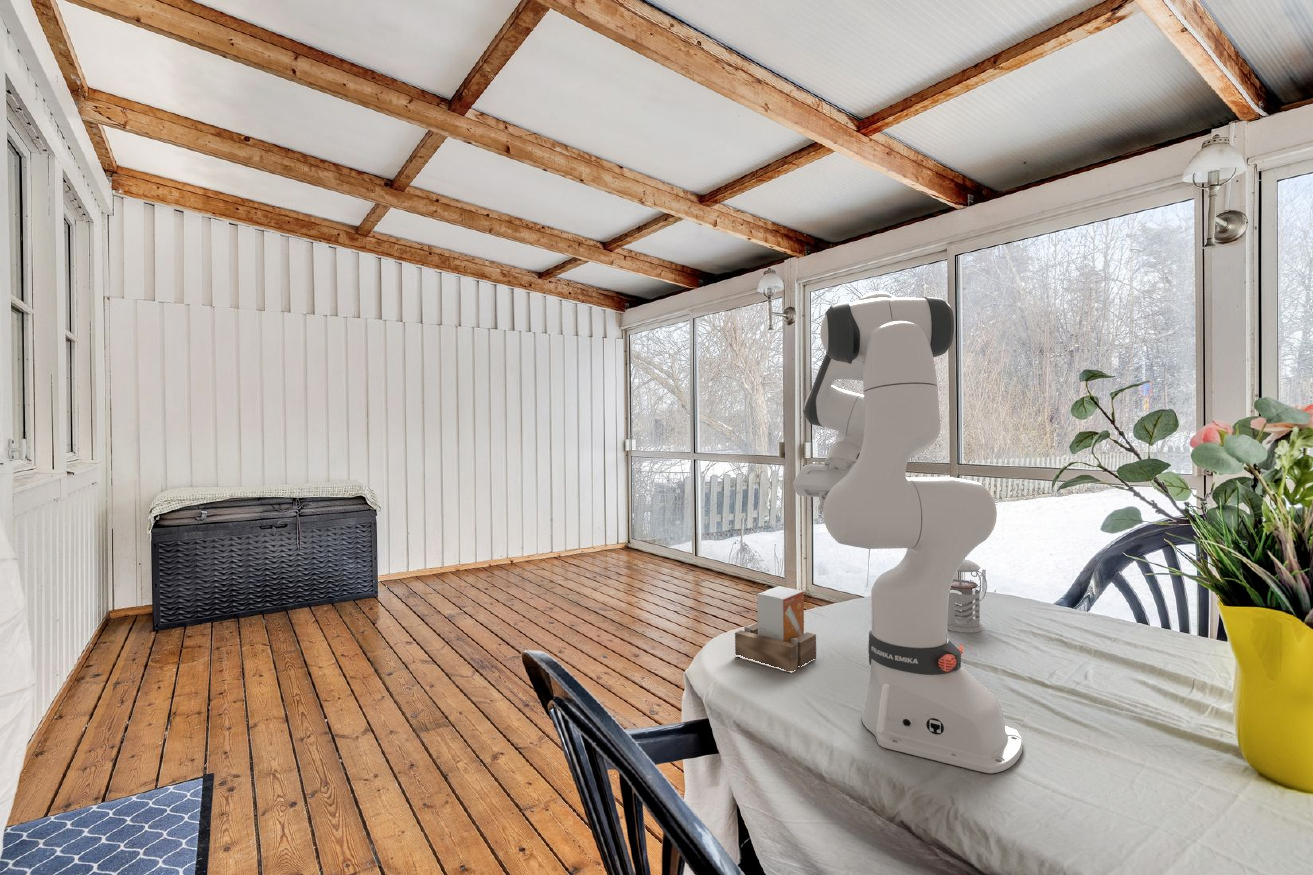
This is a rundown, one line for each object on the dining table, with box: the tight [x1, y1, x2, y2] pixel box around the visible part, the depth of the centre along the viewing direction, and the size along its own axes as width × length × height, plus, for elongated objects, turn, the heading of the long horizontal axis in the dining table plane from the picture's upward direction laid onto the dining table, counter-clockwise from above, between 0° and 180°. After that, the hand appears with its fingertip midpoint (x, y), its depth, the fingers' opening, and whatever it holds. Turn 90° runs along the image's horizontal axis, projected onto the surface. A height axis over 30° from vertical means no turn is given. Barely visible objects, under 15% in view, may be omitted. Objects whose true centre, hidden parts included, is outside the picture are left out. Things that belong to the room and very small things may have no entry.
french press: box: [947, 558, 988, 634], centre depth 146 cm, size 10×12×25 cm
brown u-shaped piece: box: [734, 622, 817, 671], centre depth 129 cm, size 13×10×6 cm
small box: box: [756, 585, 805, 643], centre depth 130 cm, size 8×6×13 cm
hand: (824, 510), depth 143 cm, fingers closed
